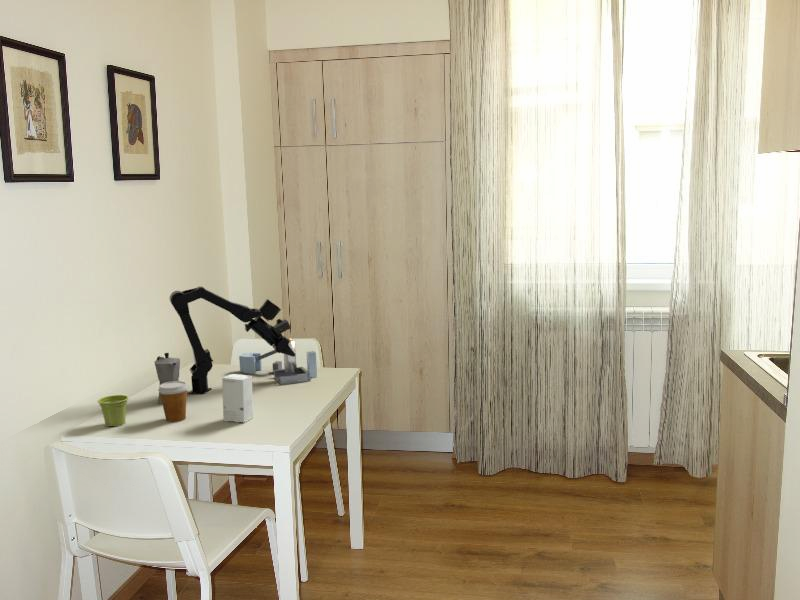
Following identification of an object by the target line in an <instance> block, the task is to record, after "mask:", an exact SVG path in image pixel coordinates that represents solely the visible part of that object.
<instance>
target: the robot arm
mask: <svg viewBox="0 0 800 600" xmlns="http://www.w3.org/2000/svg"><path fill="white" fill-rule="evenodd" d="M199 299H202V300H204V301H206V302H209V303H211V304H213V305H215V306H217V307H218V308H221V309H222V310H225V311H227V312H229V313H230V314H232V315H233V316H234V317H235V318H237V319H238V320H239V321H241V322H243V323H245V324H244V330H245V332H247V333H248V332H249V331H250V330H252V331H253V332H254V333H255V334H257V335H258V336H259V337H260V338H261V339H263V340H264V341H265V342H266V343H267V344H268V345H269V346H271V347H272V348H273V350H276V351H277V352H278V354H283V355H284V354H286V355H290V356H293V357H294V356H295V355H296V356H297V353H296V354H295V353H294V352H293V351H292V349H291V348H290V347H289V342H290V341H289V340H288V339H287V337H286V336H284V335H283V334H282V333H284V332H286V331H288V330H291V328H292V327H291V325H290V322H289V320H287V319H283V320H282V319H281V318H278V319H276V320H275V321H276V322H275V324H274V325H272V324H269V323H268V322H269V321H273V320H274V319H275V318H276V316H277V315H279V313H280V312H281V311H282V309H281V308H280V307H279V306H278V305H276V303H273V302H272V301H271V300H269V299H268V298H267V299H266V300H264V303H263V304H262V305H261V306H260V308H251V307H249V306H247V305H244V304H240V303H237V302H234V301H230V300H228V299H227V298H225V297H223V296H220V295H219V294H216V293H215V292H212V291H210V290H208V289H206V288H205V287H204V286H197V287H195V288H190V289H186V290H182V291H180V290H174V291H172V292H171V294H170V295H169V302H170V304H171V305H172V307H173V308H174V310H175V312H176V313H177V315H178V317H179V319H180V320H181V324H182V326H183V329H184V331H185V333H186V334H185V335H186V337H187V339H188V342H189V344H190V346H191V348H192V353H193V354H192V355H193V358H194V359H193V360H194V364H192V366H191V367H190V368H189V371H190V373H191V378H190V379H191V390H190V391H188V394H202V395H203V394H207V393H208V392H210V391H211V390H213V388H212V387H209V382H208V381H209V380H208V374H209V372H210V371H211V370H212V369H213V362H214V360H213V358H212V356H211V352H210V350H209V348H206V349H205V348H204V347H203V344H202V343H201V340H200V337H199V335H198V332H197V330H196V327H195V324H194V322H193V320H192V317H191V315H190V314H191V313H190V308H189V303H192V302H194V301H197V300H199ZM264 319H265V320H266V321H265V320H264Z"/></svg>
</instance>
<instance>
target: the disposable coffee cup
mask: <svg viewBox="0 0 800 600" xmlns="http://www.w3.org/2000/svg"><path fill="white" fill-rule="evenodd" d="M159 385H160V384H159ZM159 385H158V390H157V391H158V394H159V393H160V395H161V400H162V404H161V405H162V408H163V412H164V416H165V421H166V422H168V423H177V421H178V422H181V421H184V420H186V418H187V417H186V415H187V399H188V398H187V394H188V388H189V386H188V385H187V382H186V381H182V380H179V381H172V382H166V383H163V384H161V385H160V386H159Z"/></svg>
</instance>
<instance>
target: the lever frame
mask: <svg viewBox="0 0 800 600" xmlns="http://www.w3.org/2000/svg"><path fill="white" fill-rule="evenodd" d="M261 355H262V352H249V353H248V352H247V353H246V352H245V353H242V354H241V355H239V356H238V358H239V370H240V371H239V373H240V372H244V373H252V374H251V375H256V374H257V371H263V365H262V359H261V360H258V361H256V360H255V358H256V357H258V356H261ZM281 369H283V361H280V360H276V361H274V362H273V363H272V374H273V375H274V370H281ZM244 373H243V374H244ZM255 373H256V374H255Z"/></svg>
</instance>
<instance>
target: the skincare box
mask: <svg viewBox="0 0 800 600" xmlns="http://www.w3.org/2000/svg"><path fill="white" fill-rule="evenodd" d="M253 403H254V401H253V376H252V375H248V374H239V373H237V374H235V373H229V374H228V375H225V376H223V377H222V414H223V415H222V416H223V419H222V420H223V422H228V421H235V422H234V423H239V422H243V423H242V424H245V423H247V422H248V420H249V421H251V420H252V419H254V413H253V412H254V407H253V405H254V404H253ZM250 419H251V420H250ZM246 421H247V422H246ZM244 422H245V423H244Z"/></svg>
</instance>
